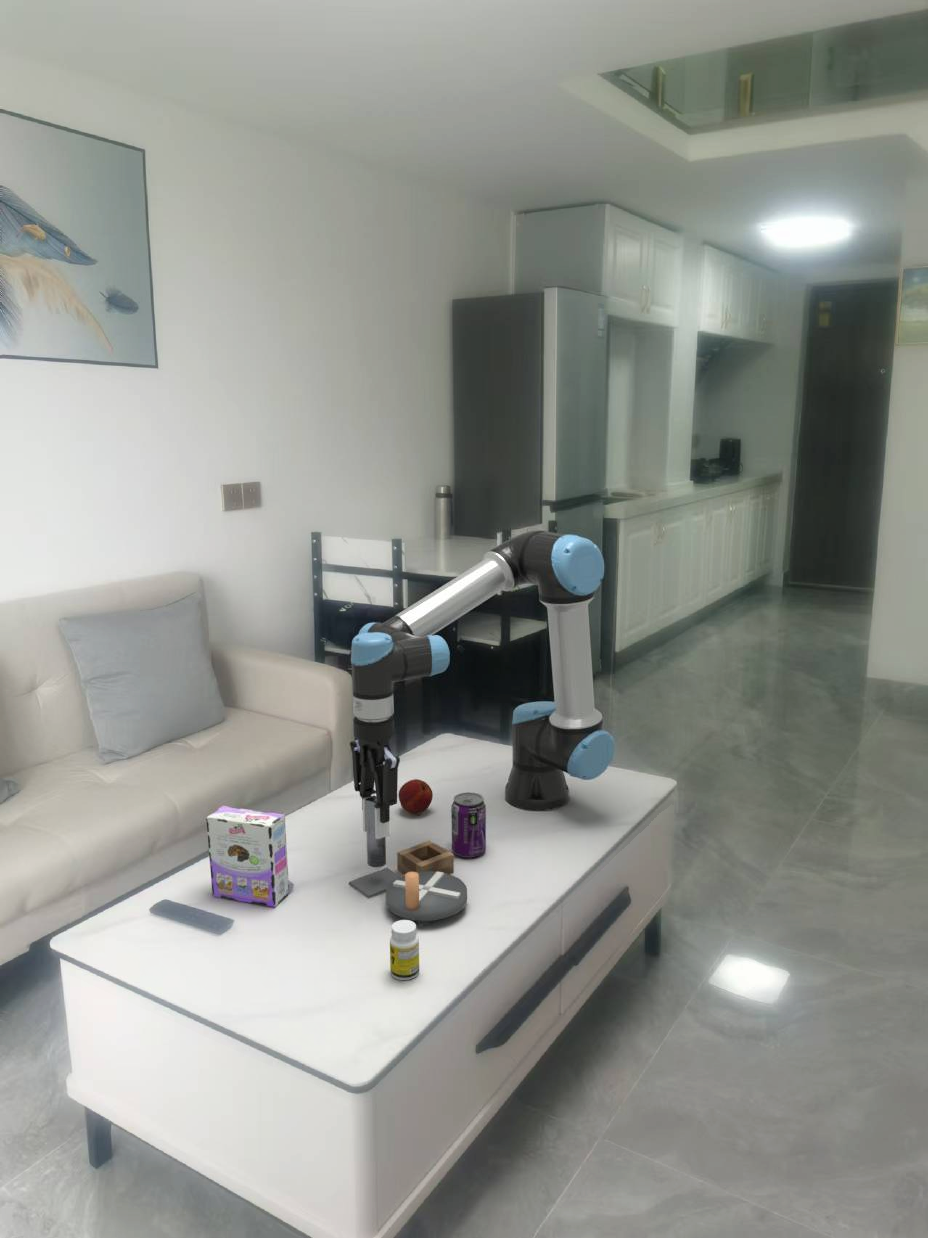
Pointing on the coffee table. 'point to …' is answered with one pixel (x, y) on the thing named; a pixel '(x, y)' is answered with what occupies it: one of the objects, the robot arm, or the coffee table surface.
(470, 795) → the beverage can
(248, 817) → the candy box
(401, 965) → the supplement bottle
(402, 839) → the coffee table surface
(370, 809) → the grey cylinder
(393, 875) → the rest mat
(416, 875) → the handwheel
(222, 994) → the coffee table surface
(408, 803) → the apple
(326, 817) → the coffee table surface
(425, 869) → the block
